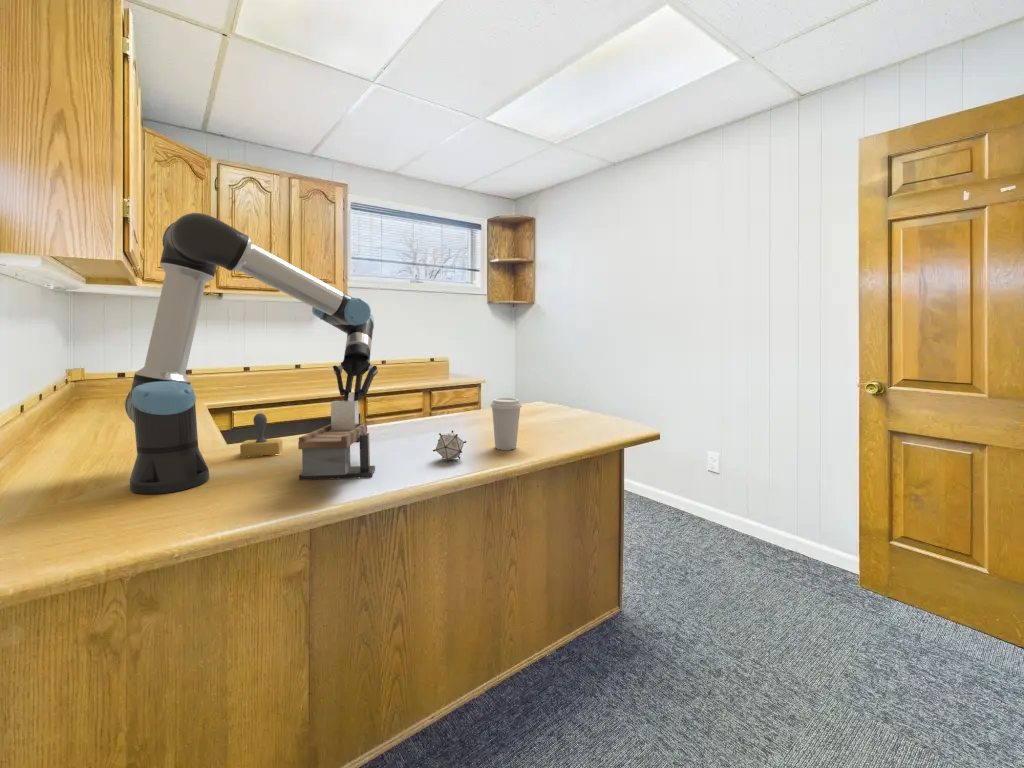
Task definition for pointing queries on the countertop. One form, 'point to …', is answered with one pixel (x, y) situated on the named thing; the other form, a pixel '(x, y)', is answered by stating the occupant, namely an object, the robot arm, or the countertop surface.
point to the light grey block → (344, 415)
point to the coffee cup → (506, 422)
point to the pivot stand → (354, 471)
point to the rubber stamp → (260, 441)
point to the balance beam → (328, 450)
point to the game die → (449, 446)
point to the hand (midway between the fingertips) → (349, 413)
